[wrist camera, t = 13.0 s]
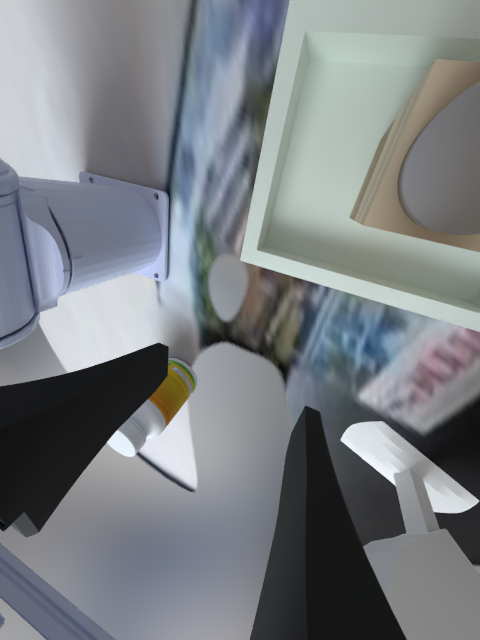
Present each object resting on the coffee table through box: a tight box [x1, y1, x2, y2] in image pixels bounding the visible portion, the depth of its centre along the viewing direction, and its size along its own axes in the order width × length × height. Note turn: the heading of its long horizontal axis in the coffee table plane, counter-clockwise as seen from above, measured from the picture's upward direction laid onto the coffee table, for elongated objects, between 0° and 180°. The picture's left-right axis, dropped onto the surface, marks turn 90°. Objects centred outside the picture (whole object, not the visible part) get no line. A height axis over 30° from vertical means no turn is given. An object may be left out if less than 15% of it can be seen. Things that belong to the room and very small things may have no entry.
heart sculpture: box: [341, 421, 480, 640], centre depth 14 cm, size 16×5×18 cm, turn 56°
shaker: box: [349, 59, 480, 252], centre depth 9 cm, size 4×4×9 cm
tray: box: [240, 0, 480, 332], centre depth 12 cm, size 16×12×3 cm
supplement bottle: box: [107, 358, 197, 457], centre depth 24 cm, size 5×5×10 cm
